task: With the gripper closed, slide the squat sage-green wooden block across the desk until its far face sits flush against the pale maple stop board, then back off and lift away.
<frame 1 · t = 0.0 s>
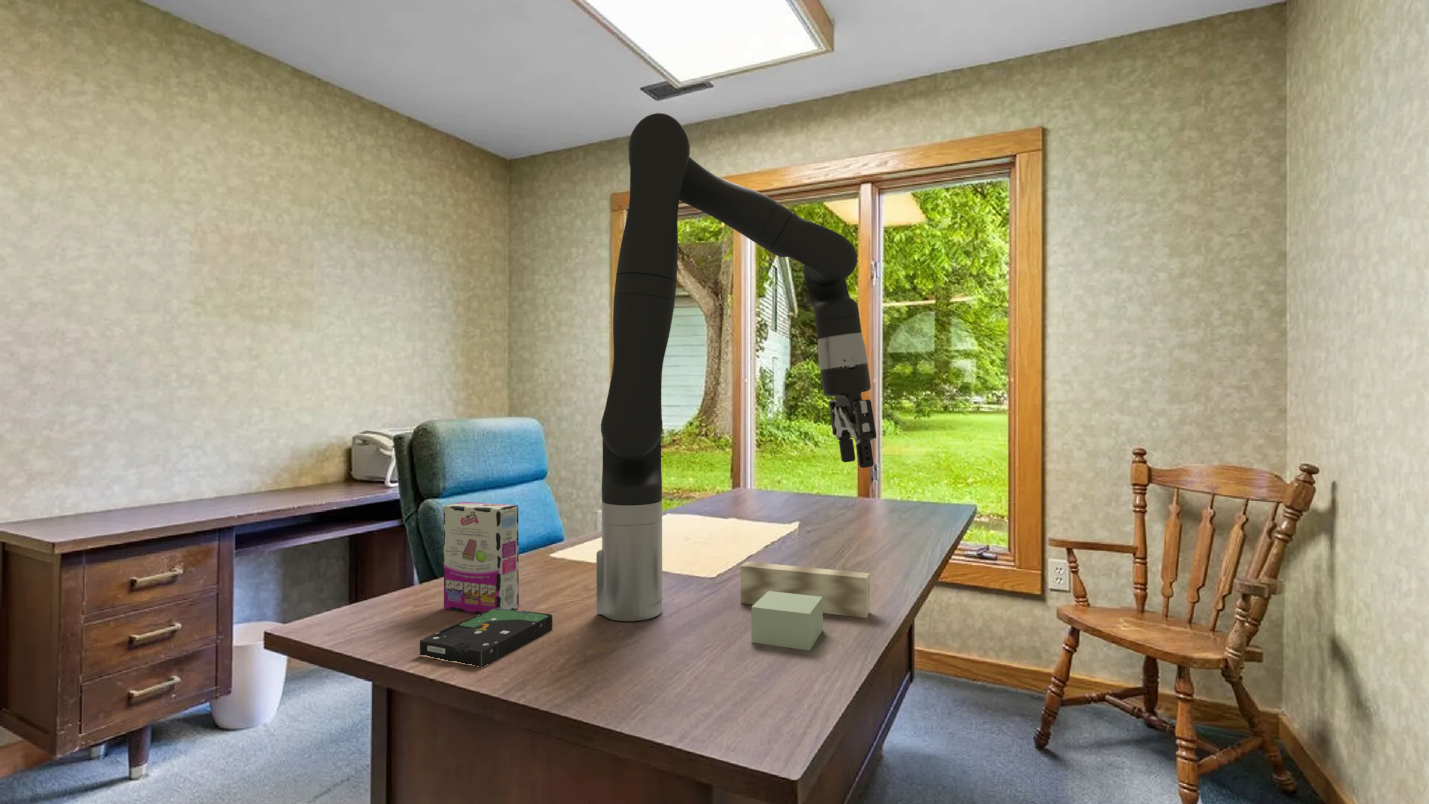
hand: (857, 464, 107), 22 cm above the table, tool pointing down, fingers open, 8 cm apart
sage block: (787, 637, 92), on the table
candy bar box: (481, 610, 104), on the table
stop board: (803, 607, 105), on the table
disk drive: (489, 647, 90), on the table
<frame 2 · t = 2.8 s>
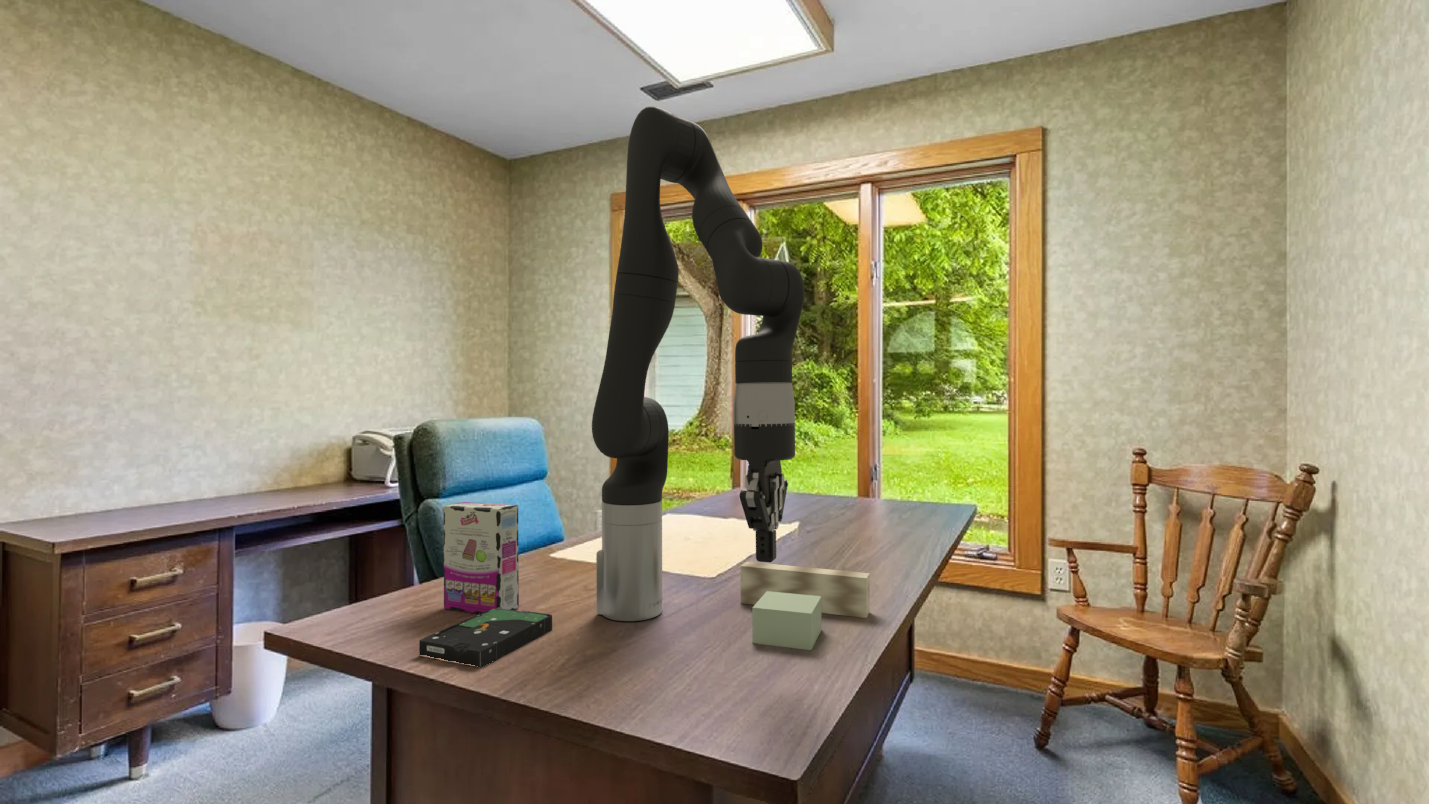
hand: (766, 560, 82), 13 cm above the table, tool pointing down, fingers closed
nothing on the table moved.
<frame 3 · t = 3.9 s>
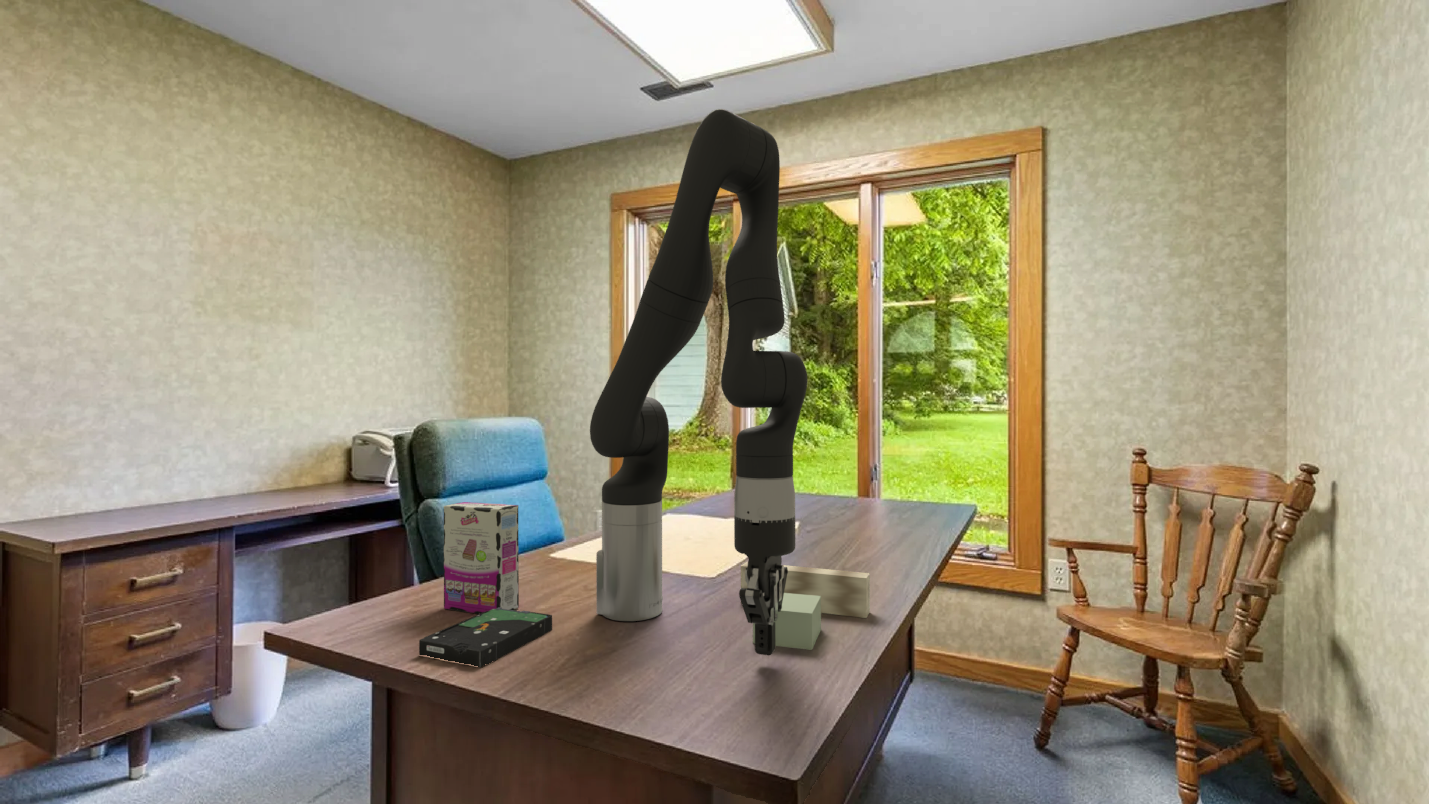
hand: (765, 652, 82), 2 cm above the table, tool pointing down, fingers closed
nothing on the table moved.
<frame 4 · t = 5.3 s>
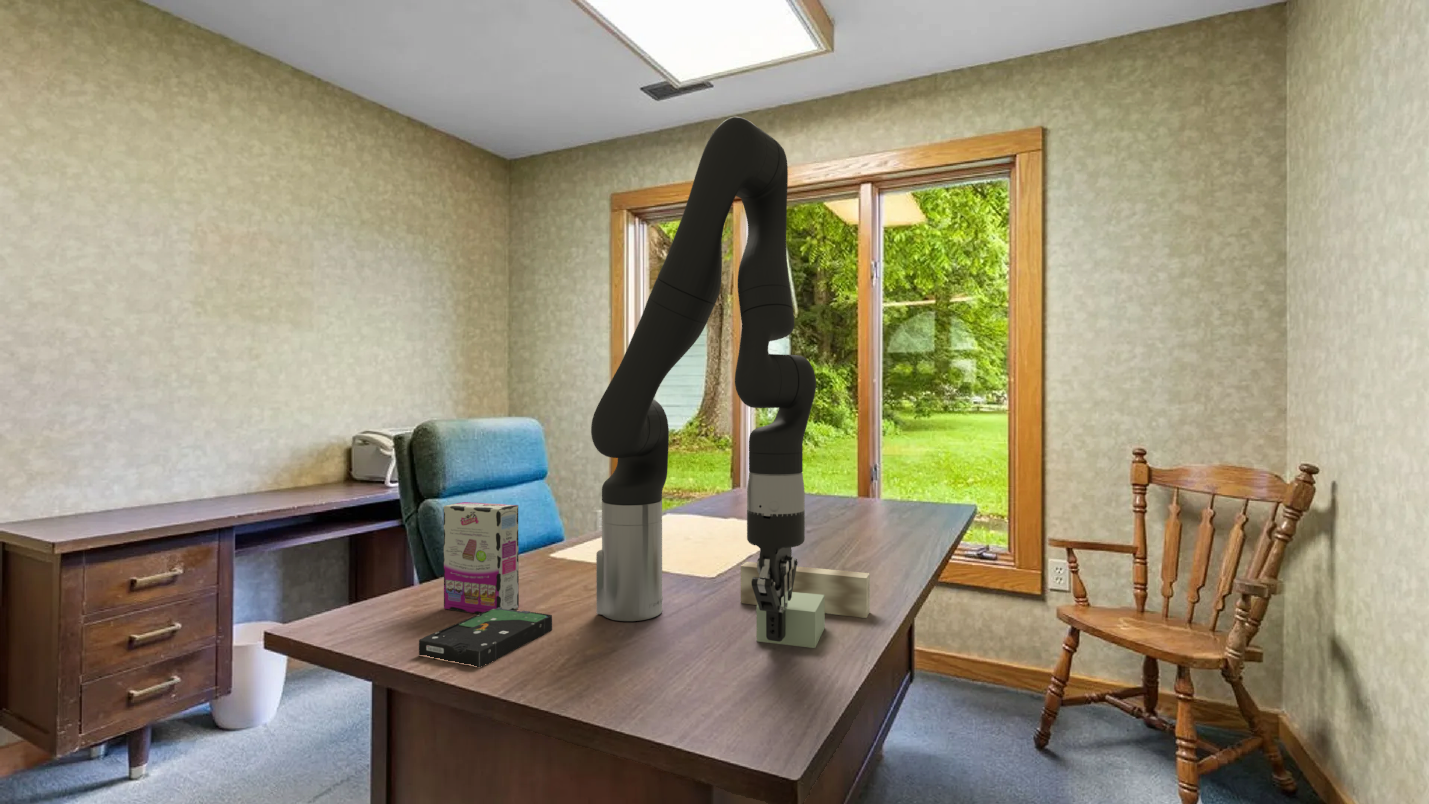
hand: (775, 638, 87), 1 cm above the table, tool pointing down, fingers closed
sage block: (791, 636, 93), on the table, touching gripper
everything else where it was.
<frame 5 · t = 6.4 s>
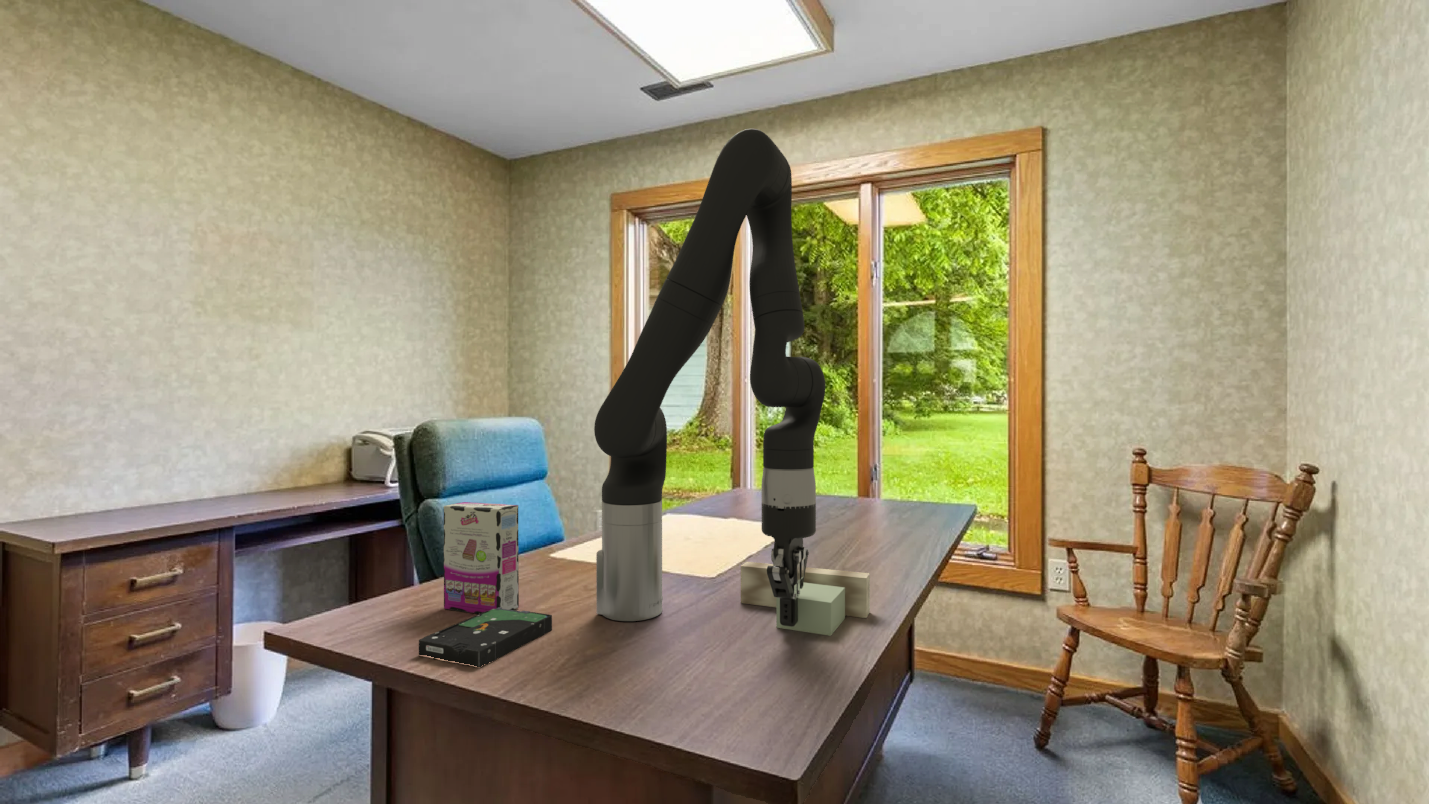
hand: (788, 624, 92), 2 cm above the table, tool pointing down, fingers closed
sage block: (811, 625, 98), on the table, touching gripper
everything else where it was.
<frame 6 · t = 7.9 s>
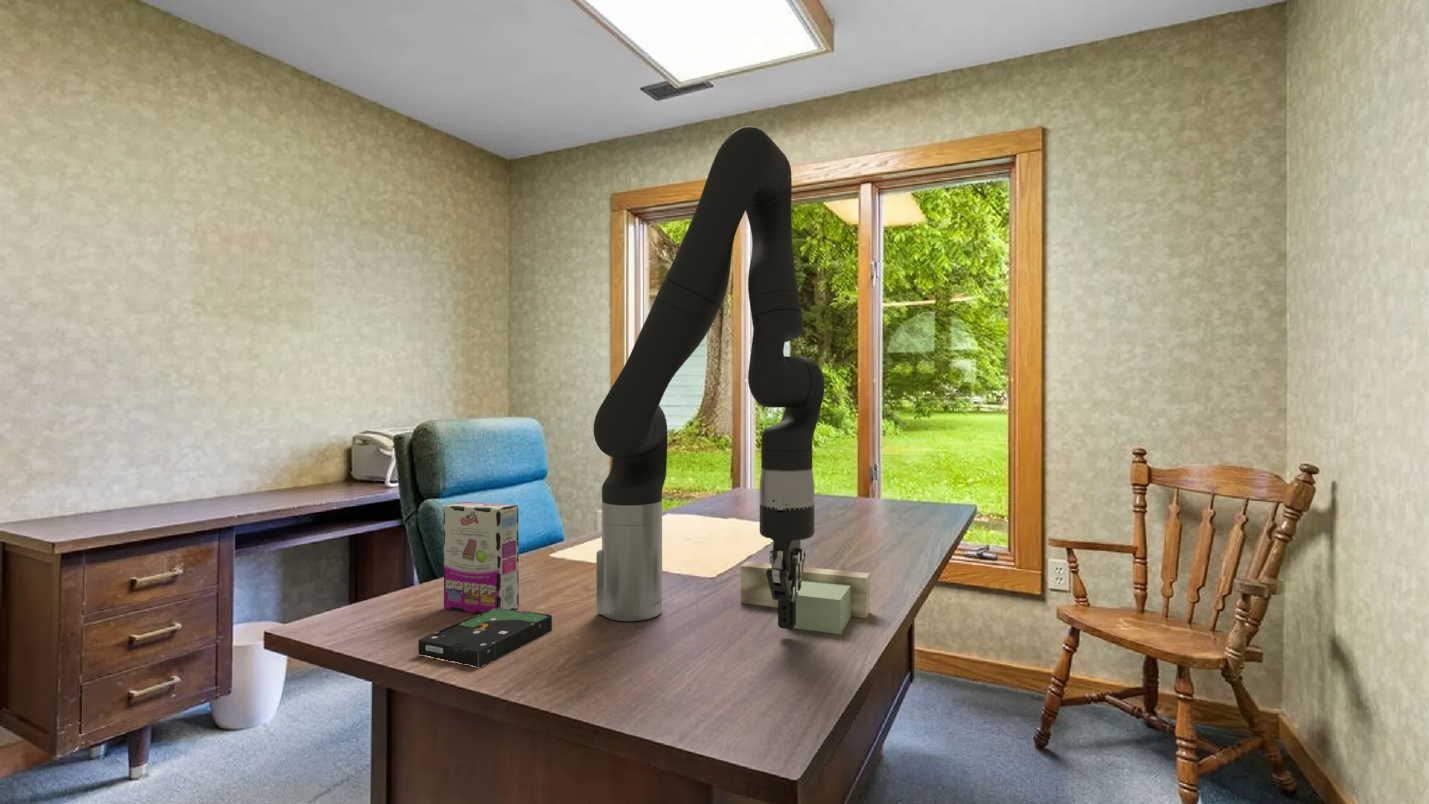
hand: (787, 626, 91), 2 cm above the table, tool pointing down, fingers closed
sage block: (818, 623, 98), on the table
everything else where it was.
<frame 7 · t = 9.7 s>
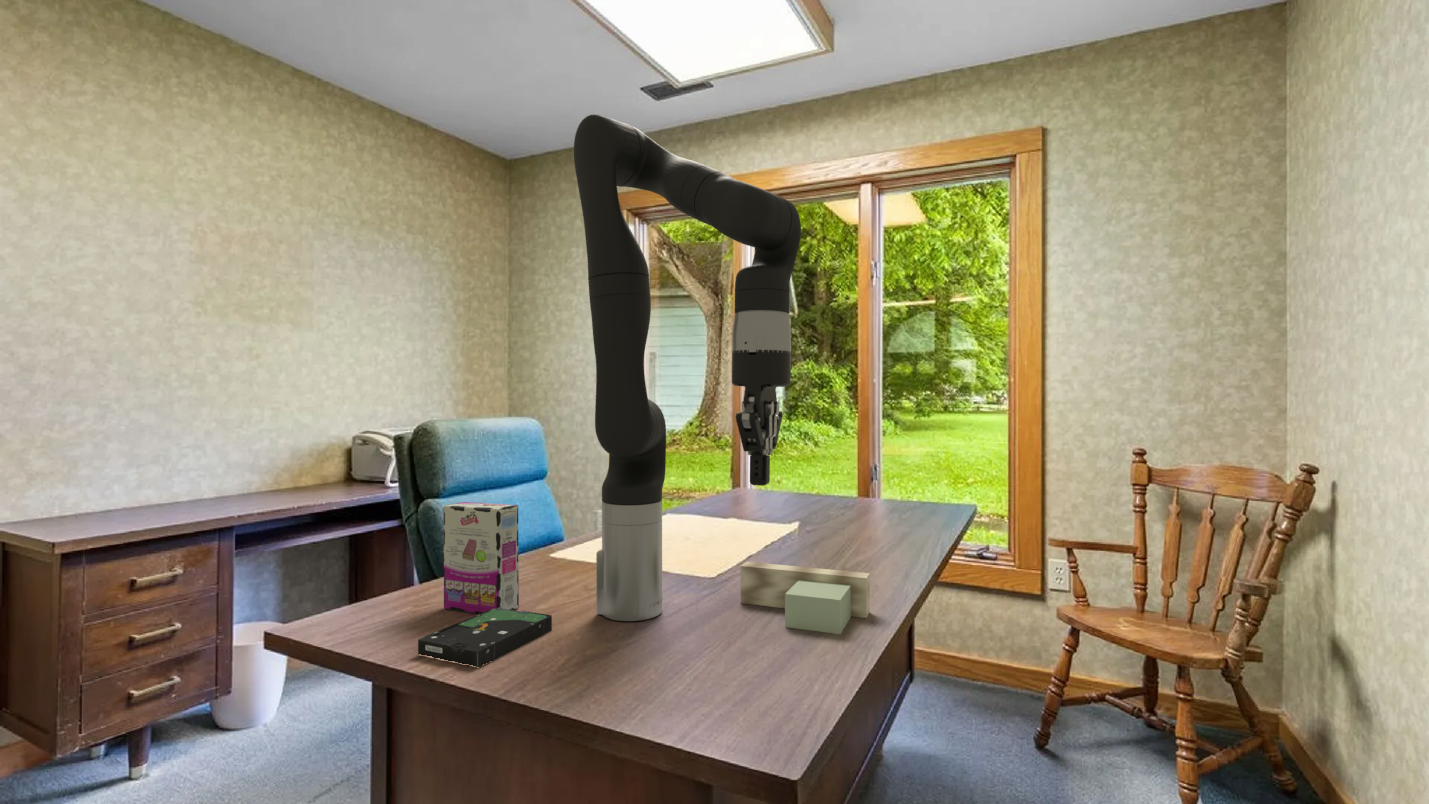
hand: (759, 484, 85), 22 cm above the table, tool pointing down, fingers closed
nothing on the table moved.
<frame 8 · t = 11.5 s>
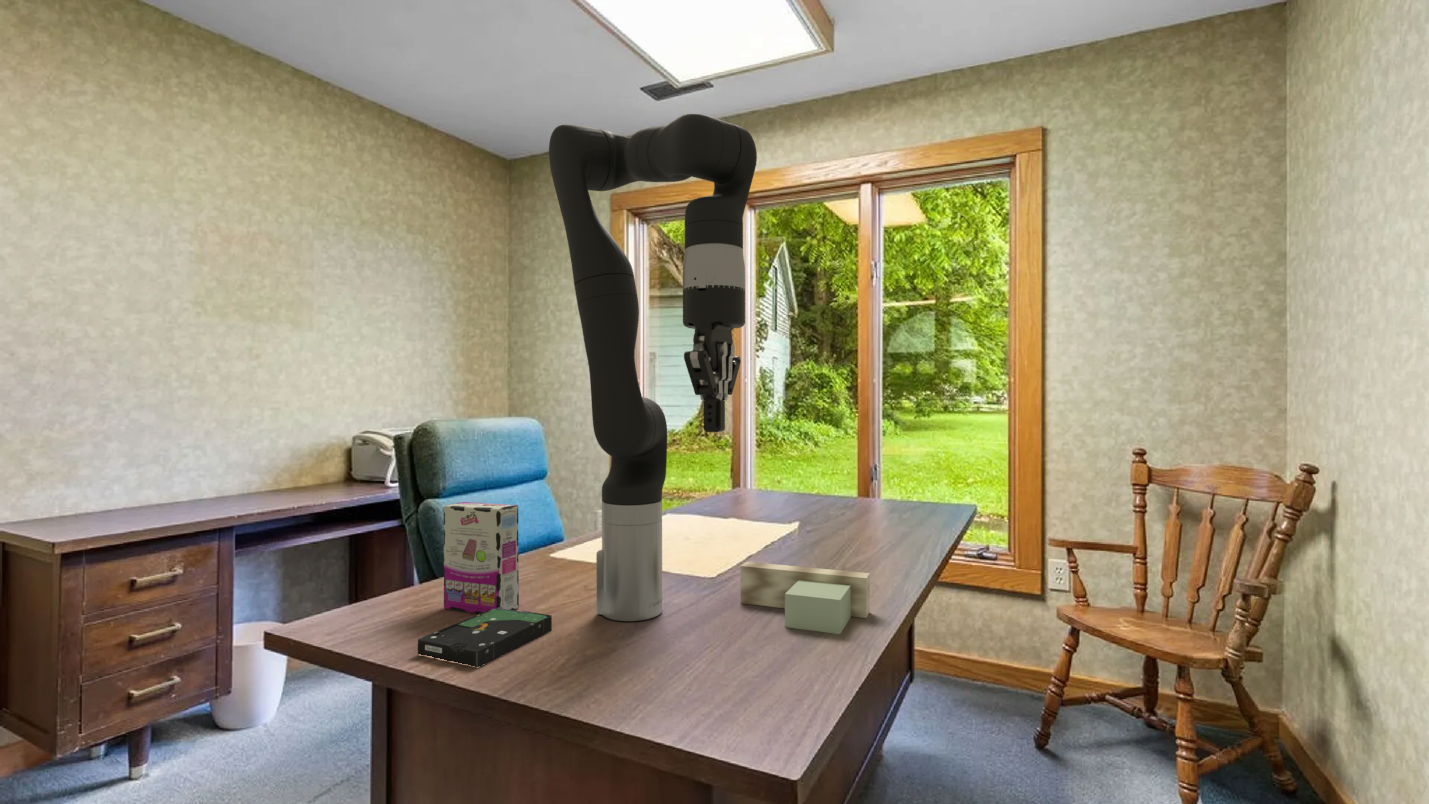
hand: (714, 431, 80), 29 cm above the table, tool pointing down, fingers closed
nothing on the table moved.
at the end: sage block inside the target area on the table beside the stop board (3.2 cm from its centre), on the table; sage block tilted 0° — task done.
